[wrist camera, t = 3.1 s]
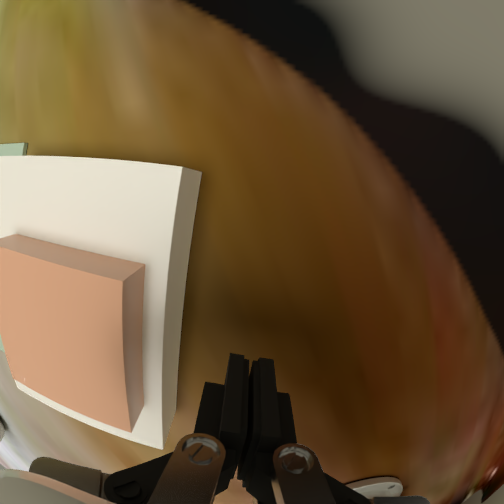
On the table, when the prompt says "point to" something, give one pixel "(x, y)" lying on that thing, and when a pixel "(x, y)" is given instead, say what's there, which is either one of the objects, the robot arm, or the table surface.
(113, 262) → the terracotta tile
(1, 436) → the plastic bottle
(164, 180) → the painted board
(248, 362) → the robot arm
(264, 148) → the table surface
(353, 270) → the table surface
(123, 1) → the table surface
